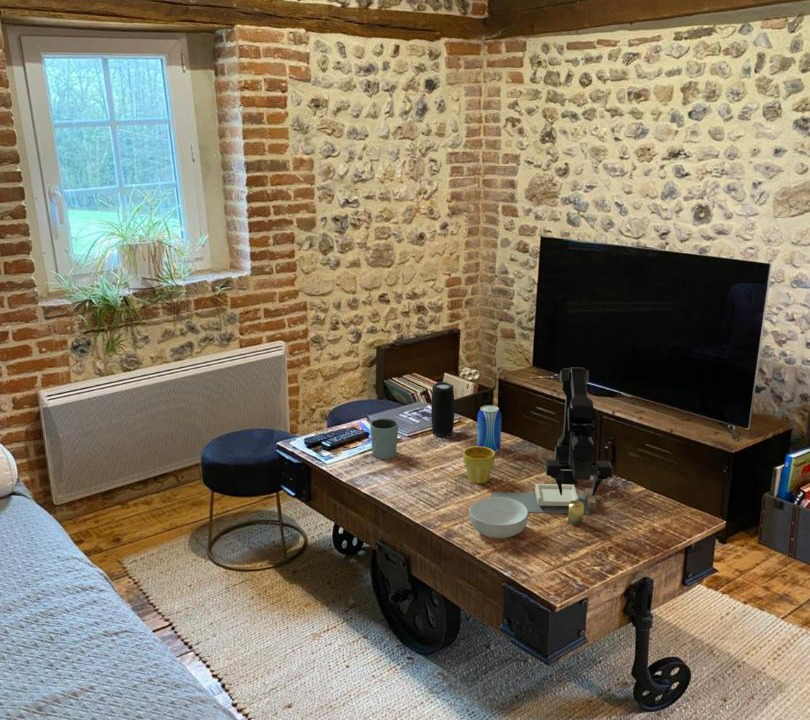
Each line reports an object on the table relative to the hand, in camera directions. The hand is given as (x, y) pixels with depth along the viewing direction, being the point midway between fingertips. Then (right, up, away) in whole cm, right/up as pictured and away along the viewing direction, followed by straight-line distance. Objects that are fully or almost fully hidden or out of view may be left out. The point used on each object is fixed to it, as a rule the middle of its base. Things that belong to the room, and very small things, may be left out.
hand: (576, 495), depth 234 cm
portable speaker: (-36, +11, +70) cm, 80 cm away
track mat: (-9, -5, +15) cm, 18 cm away
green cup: (-57, +6, +52) cm, 77 cm away
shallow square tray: (-4, -5, +14) cm, 15 cm away
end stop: (+7, -5, +13) cm, 16 cm away
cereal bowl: (-23, -10, -3) cm, 26 cm away
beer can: (-20, +7, +55) cm, 59 cm away
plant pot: (-26, 0, +31) cm, 41 cm away
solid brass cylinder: (0, -8, +2) cm, 9 cm away
